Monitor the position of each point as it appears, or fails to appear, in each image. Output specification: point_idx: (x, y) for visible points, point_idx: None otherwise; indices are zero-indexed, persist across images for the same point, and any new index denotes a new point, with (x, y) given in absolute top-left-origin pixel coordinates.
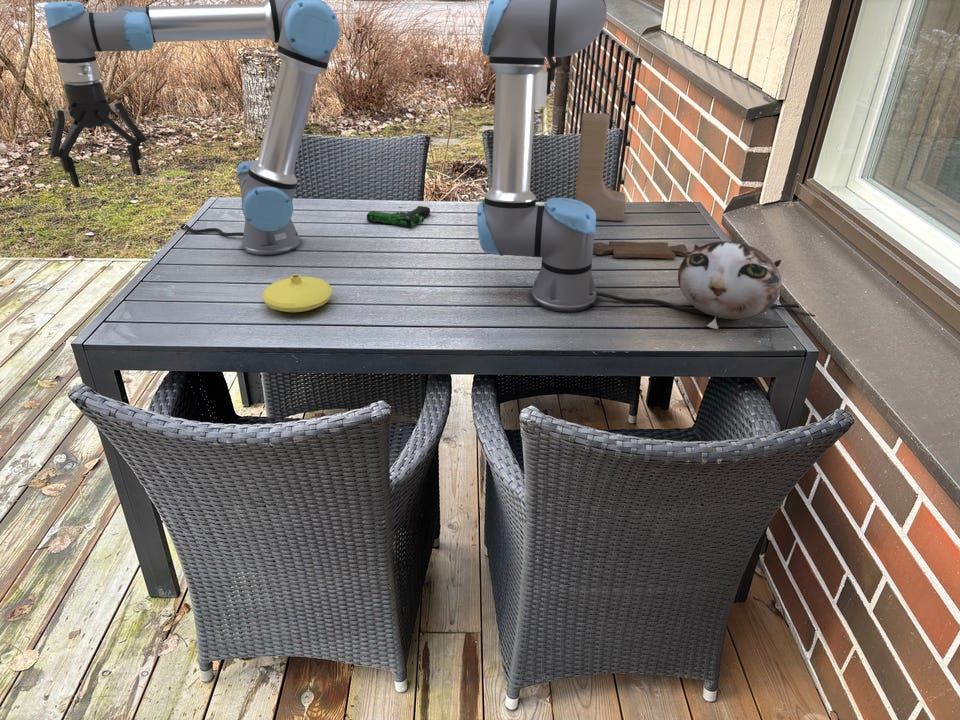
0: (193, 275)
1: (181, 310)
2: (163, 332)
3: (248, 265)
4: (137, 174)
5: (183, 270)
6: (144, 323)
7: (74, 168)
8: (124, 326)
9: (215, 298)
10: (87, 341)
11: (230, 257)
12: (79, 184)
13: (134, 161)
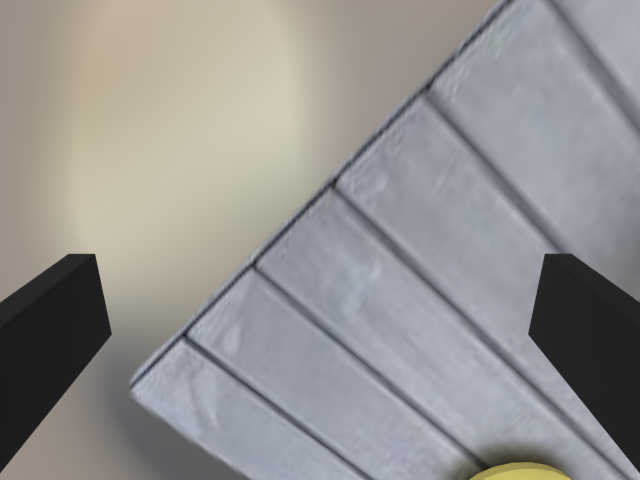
0: (449, 240)
1: (330, 386)
2: (262, 439)
3: None
4: (533, 333)
5: (450, 190)
6: (248, 390)
7: (18, 440)
8: (211, 378)
9: (411, 382)
10: (134, 389)
11: (597, 193)
12: (102, 343)
13: (593, 408)
